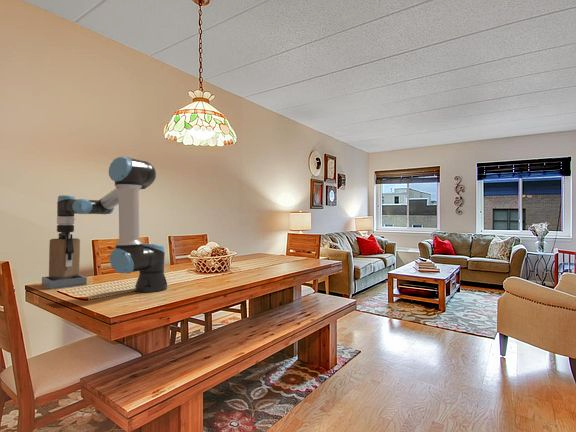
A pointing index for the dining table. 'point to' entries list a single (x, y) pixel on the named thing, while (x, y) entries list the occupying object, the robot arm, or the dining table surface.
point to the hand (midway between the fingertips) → (64, 264)
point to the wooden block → (63, 259)
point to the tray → (63, 282)
